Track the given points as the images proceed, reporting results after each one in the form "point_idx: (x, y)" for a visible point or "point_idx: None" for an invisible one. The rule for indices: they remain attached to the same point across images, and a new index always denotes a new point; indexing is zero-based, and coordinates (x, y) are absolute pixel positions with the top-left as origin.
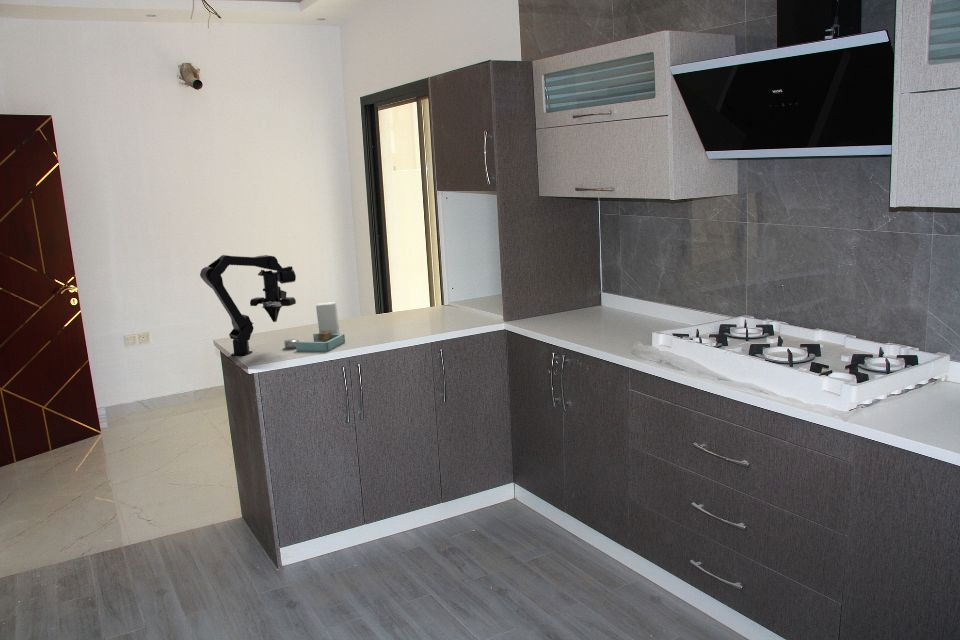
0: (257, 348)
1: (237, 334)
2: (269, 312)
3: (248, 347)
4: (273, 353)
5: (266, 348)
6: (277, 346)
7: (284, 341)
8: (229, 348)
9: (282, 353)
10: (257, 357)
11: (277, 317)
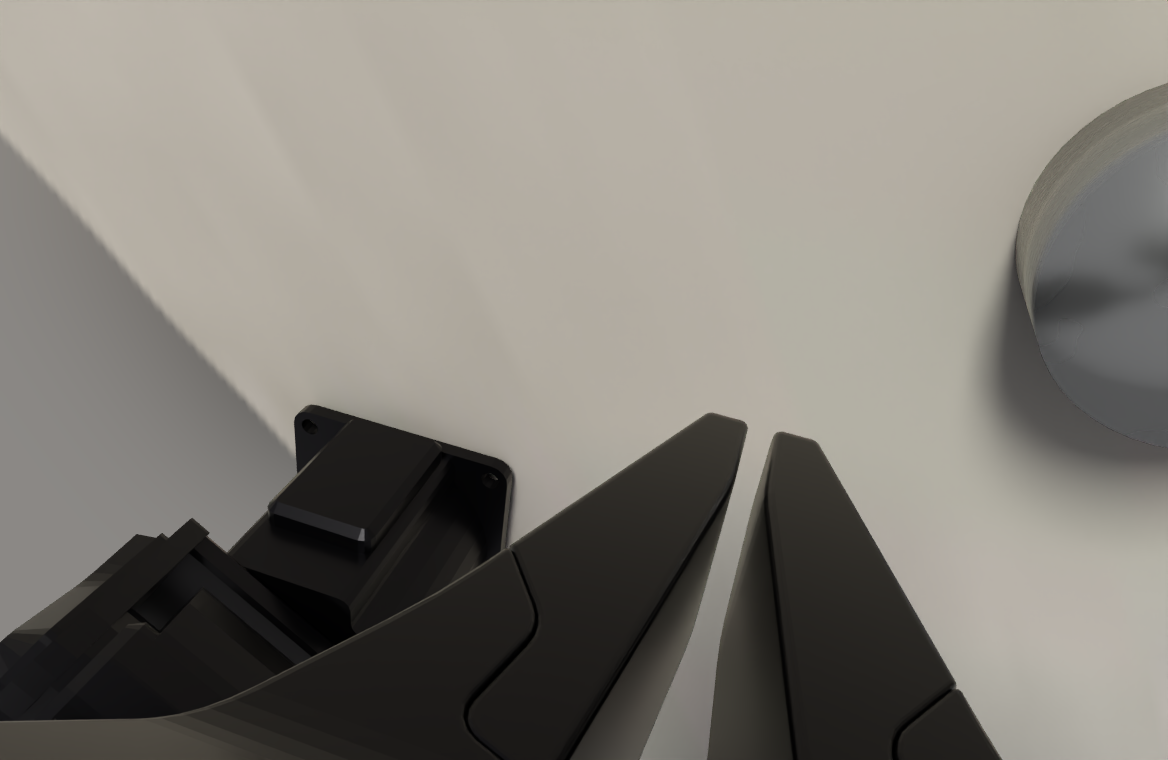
0: (459, 207)
1: (135, 608)
2: None
3: (428, 504)
4: None
5: (628, 235)
6: (804, 90)
7: (1042, 330)
8: (12, 133)
9: (1043, 635)
10: (705, 723)
11: (869, 541)
